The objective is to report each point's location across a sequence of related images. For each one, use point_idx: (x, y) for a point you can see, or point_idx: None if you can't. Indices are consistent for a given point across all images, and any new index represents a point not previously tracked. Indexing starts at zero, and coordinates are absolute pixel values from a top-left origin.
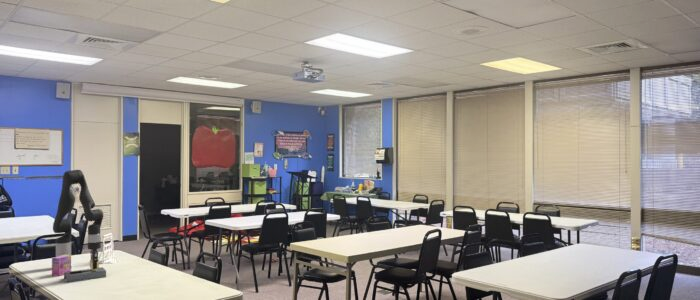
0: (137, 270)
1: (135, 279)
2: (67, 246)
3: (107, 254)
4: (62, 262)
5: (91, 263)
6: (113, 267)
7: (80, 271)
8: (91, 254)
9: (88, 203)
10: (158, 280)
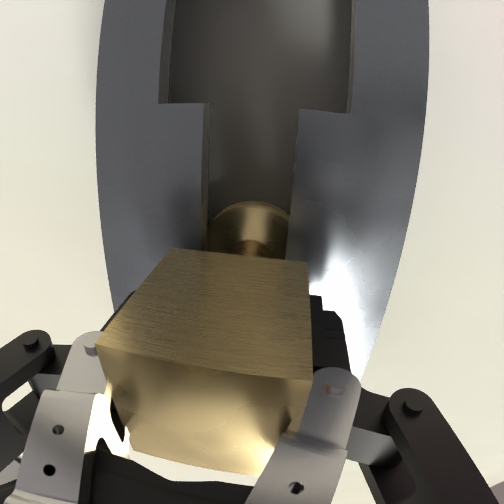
0: (244, 478)
1: (26, 385)
2: None
3: None
4: None
5: (130, 309)
6: (468, 421)
7: (348, 100)
8: (7, 499)
9: None
10: (3, 409)
